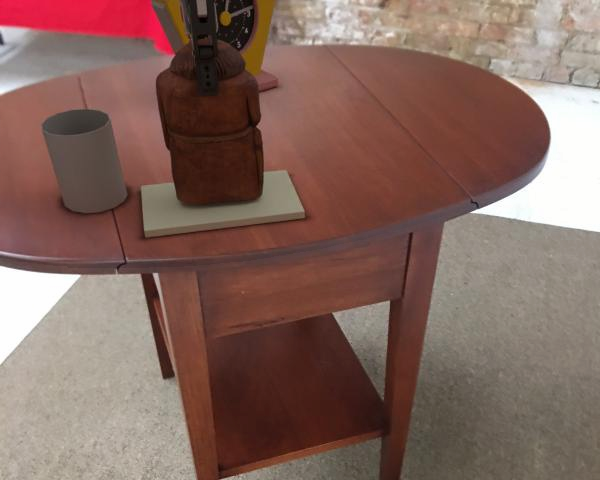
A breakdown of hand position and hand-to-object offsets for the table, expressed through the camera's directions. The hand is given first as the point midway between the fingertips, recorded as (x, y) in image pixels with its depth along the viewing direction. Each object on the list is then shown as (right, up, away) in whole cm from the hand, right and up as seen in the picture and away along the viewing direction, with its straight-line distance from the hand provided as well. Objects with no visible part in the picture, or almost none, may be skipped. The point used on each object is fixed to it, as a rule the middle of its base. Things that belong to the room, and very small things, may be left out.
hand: (206, 84), depth 72 cm
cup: (-17, -9, +13) cm, 23 cm away
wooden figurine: (0, -10, +10) cm, 14 cm away
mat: (0, -11, +11) cm, 15 cm away
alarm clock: (-2, +19, +40) cm, 44 cm away
